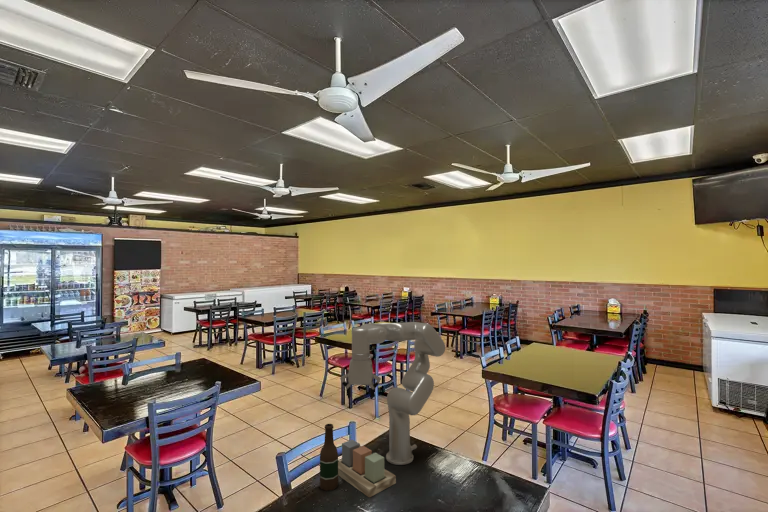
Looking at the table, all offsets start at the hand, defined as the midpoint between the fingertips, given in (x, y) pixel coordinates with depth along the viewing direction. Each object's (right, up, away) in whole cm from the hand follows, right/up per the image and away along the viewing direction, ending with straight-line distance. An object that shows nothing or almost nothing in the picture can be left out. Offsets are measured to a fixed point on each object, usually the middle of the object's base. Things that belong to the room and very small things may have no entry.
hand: (360, 397), depth 153 cm
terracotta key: (+1, -30, -1) cm, 30 cm away
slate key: (-5, -30, +5) cm, 31 cm away
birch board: (+1, -33, -1) cm, 33 cm away
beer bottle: (-12, -33, -7) cm, 36 cm away
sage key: (+6, -30, -7) cm, 31 cm away
